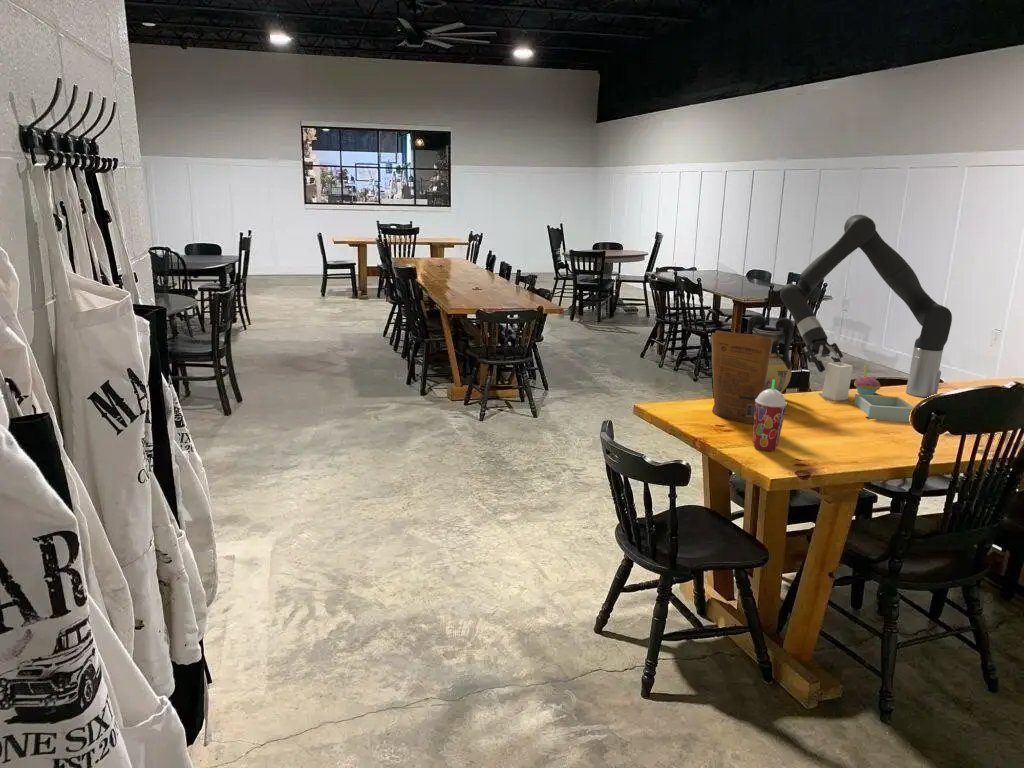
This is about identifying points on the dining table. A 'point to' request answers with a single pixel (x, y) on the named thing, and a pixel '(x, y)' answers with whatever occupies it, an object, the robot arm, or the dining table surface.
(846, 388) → the sleeve
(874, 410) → the tray
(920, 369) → the robot arm
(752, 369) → the pancake mix bag
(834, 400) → the base
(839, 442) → the dining table surface
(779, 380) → the amphora
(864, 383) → the cupcake
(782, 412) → the smoothie
